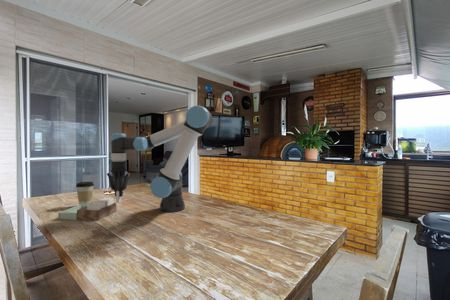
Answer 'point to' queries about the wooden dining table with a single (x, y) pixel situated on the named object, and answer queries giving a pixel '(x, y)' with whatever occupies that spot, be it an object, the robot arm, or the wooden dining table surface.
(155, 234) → the wooden dining table surface
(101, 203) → the tile
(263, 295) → the wooden dining table surface
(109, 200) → the tile
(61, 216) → the tray
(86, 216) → the board
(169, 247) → the wooden dining table surface
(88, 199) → the coffee cup
